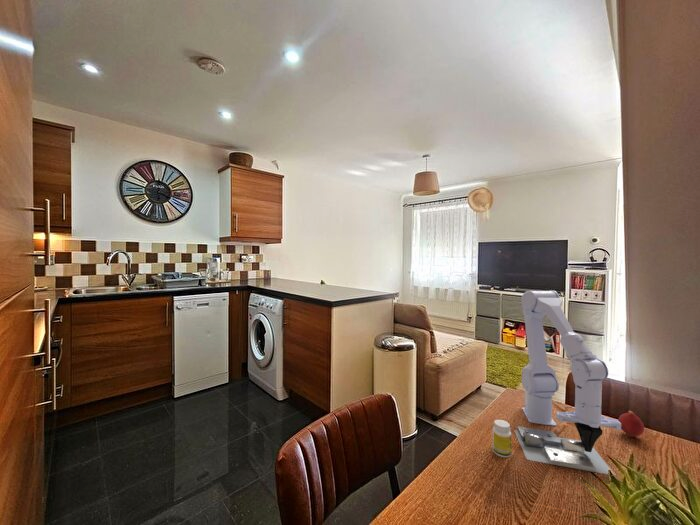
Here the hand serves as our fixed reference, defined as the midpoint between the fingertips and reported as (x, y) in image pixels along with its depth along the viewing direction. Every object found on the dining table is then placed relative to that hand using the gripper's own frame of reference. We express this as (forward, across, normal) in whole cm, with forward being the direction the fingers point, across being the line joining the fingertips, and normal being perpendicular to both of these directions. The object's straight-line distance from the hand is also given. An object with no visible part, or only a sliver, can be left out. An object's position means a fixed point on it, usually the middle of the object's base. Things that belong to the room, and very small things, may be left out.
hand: (586, 449), depth 82 cm
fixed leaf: (+1, -11, +3) cm, 11 cm away
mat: (+2, -7, 0) cm, 7 cm away
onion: (+2, +18, +14) cm, 23 cm away
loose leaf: (+1, -6, -3) cm, 7 cm away
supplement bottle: (+2, -23, -5) cm, 23 cm away
